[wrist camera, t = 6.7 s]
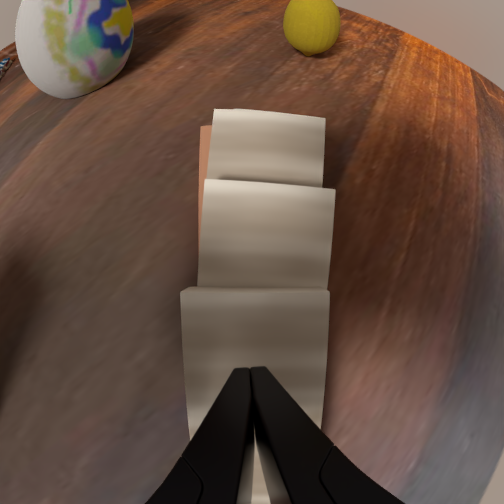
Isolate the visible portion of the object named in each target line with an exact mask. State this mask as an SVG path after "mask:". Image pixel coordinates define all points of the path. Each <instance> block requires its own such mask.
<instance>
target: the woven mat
mask: <svg viewBox="0 0 504 504" xmlns="http://www.w3.org/2000/svg"><path fill="white" fill-rule="evenodd" d="M7 61H8V62H7ZM11 63H12V60H10V58H8V59H6V58H5V59H4V60H3V61H2V62H0V78H1V77H2V74H4V73H5V71H6V70H7V69H8V67H10V64H11ZM8 65H9V66H8ZM2 72H3V73H2Z"/></svg>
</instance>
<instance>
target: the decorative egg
mask: <svg viewBox="0 0 504 504" xmlns="http://www.w3.org/2000/svg"><path fill="white" fill-rule="evenodd" d="M15 30H16V31H15V32H16V33H15V34H16V35H15V38H16V48H17V53H18V57H19V60H20V63H21V65H22V68H23V70H24V71H25V73H26V75H27V76H28V78H29V79H30V80H31V81H32V83H33V84H35V85H36V86H37V87H38V88H39V89H40V90H42V91H43V92H45V93H47V94H49V95H52V96H54V97H57V98H62V99H70V98H76V97H79V96H82V95H85V94H88V93H90V92H92V91H95V90H97V89H99V88H100V87H102V86H103V85H105V84H107V83H108V82H110V81H111V80H112V79H114V78H115V77H116V76H117V75H118V74H119V73H120V71H121V70H122V69H123V67H124V65H125V63H126V61H127V59H128V57H129V54H130V51H131V47H132V43H133V36H134V23H133V17H132V12H131V8H130V5H129V3H128V0H22V2H21V5H20V8H19V11H18V15H17V20H16V29H15Z"/></svg>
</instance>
